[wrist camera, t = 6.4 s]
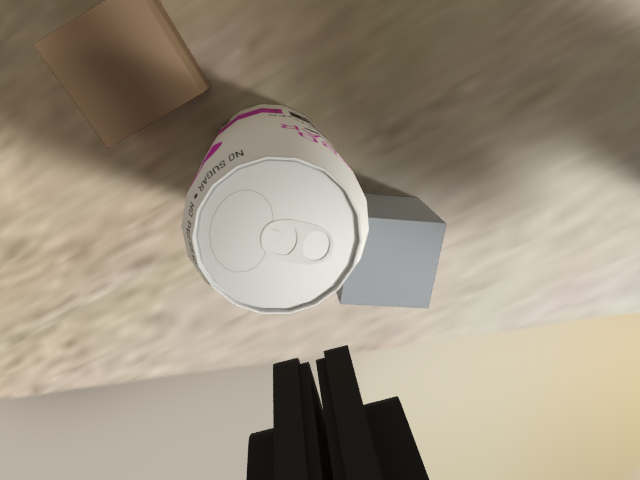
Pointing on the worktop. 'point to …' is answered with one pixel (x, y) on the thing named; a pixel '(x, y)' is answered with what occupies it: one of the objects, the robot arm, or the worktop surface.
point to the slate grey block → (396, 254)
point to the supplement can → (274, 213)
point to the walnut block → (123, 66)
